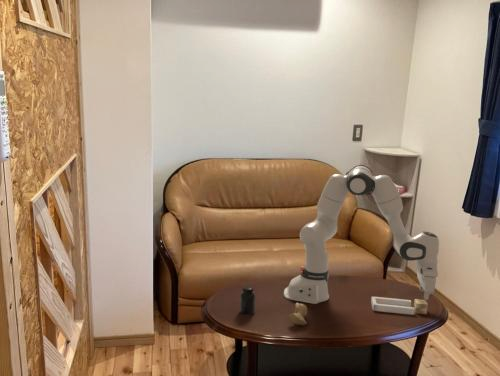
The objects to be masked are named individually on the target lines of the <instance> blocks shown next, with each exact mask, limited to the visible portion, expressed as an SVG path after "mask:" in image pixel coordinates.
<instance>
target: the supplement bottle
mask: <svg viewBox="0 0 500 376" xmlns="http://www.w3.org/2000/svg"><path fill="white" fill-rule="evenodd" d="M241 291H242V292H240V295H239V312H240V313H241V314H242V315H244V316H250V315H253V314H254V313H255V311H256V294H255V292H254V287H253V286H252V285H249V284H248V285H243V286H242V290H241Z"/></svg>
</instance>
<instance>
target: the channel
mask: <svg viewBox="0 0 500 376" xmlns="http://www.w3.org/2000/svg"><path fill="white" fill-rule="evenodd" d="M370 303H371V309H372V311H373V312H382V313H390V314H391V313H393V314H401V315H410V316H411V315H413V316H414V315H415V311H414V310H415V309H414V306H413V307H412V300H410V299H401V298H391V297H381V296H374V295H373V296H371V298H370Z"/></svg>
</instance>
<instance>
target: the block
mask: <svg viewBox="0 0 500 376" xmlns="http://www.w3.org/2000/svg"><path fill="white" fill-rule="evenodd" d="M428 306H429V304H428V302H427V299H419V298H415V299H414V301H413V307H414V309H415V310H414V314H419V315H420V314H422V315H427V313H428Z"/></svg>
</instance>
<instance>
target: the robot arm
mask: <svg viewBox="0 0 500 376" xmlns="http://www.w3.org/2000/svg"><path fill="white" fill-rule="evenodd" d="M325 183H326V184H325V185H324V187H323V190H322V192H321V195H320V197H319V200H318V203H317V205H316V210H317V215H316V218H315V219H314V220H313V221H311V222H308V223H306V224H305V225H304V226H303V227H302V228H301V229H300V230H299V231H300V232H299V239H300V241H301V243H302V244H303V245H304V246H303V247H304V250H305V263H304V264H305V266H304V265H301V266H300V269H299V270H300V274H299V275H297V276H295V277H293V278H292V279H291V280H290V282H289V284H288V286H287V287H285V288H284V290H283V296H284V298H285V299H287V300H291V301H297V302H300V303H301V302H302V303H308V304H312V305H316V304H319V303H322V302H326V301H328V300H329V299H330V295H329V289H328V281H329V257H330V255H329V253H328V252H327V250H326V242H327V241H329V240H330V239H332V238H333V237H334V236H335V235H336V234H337V231H338V220H339V219H338V218H339V214H340V212H341V210H342V207H343V206H344V203H345V201H346V198H347V195H348V194H349V193H350V194H352V195H354V196H370V195H372V197H373V199H374V202H375V204H376V206H377V208H378V210H379V212H380V213H381V214H382V216H383V217H384V218H385V220H386V221H387V223H388V226H389V229H390V231H391V234H392V240H391V241H392V243H391V244H392V246H393V249H394V251H396V252H397V253H398V254H399V256H400V257H401V258H402V259H403V260H405V261H410V262H411V261H416V270H417V274H416V277H417V280H418V282H419V291H420V292H424V294H423V298H424V299H423V300H426V301H427V300H429V299H430V298H429V297H430V295H431V294H434V292H435V290H436V289H435V288H436V282H437V277H439V276H438V275H439V273H438V255H439V249H440V248H439V247H440V243H439V242H440V240H439V239H440V238H439V237H438V236H437V235H436V234H435V233H432V232H429V231H421V232H420V233H418V234H417V235H414V236H412V235H411V234H410V233H409V232H407V230H406V228H405V226H404V223H403V220H402V218H401V213H402V212H403V210H404V204H403V200H402V197H401V194H400V192H399V190H398V188H397V186H396V184H395V182H394V181H393V179H392V178H391V177H390V176H389V175H386V174H380V175H377V176H374V175H373V171H372V170H371V168H370V167H369V166H367V165H365V164H359V165H358V164H357V165H355V166H353V168H351V169H349V170H348V171H347V172H346V173H345V175H344V174H340V173H335V174H331V176H330V177H329V178H328V180H327V182H325Z"/></svg>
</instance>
